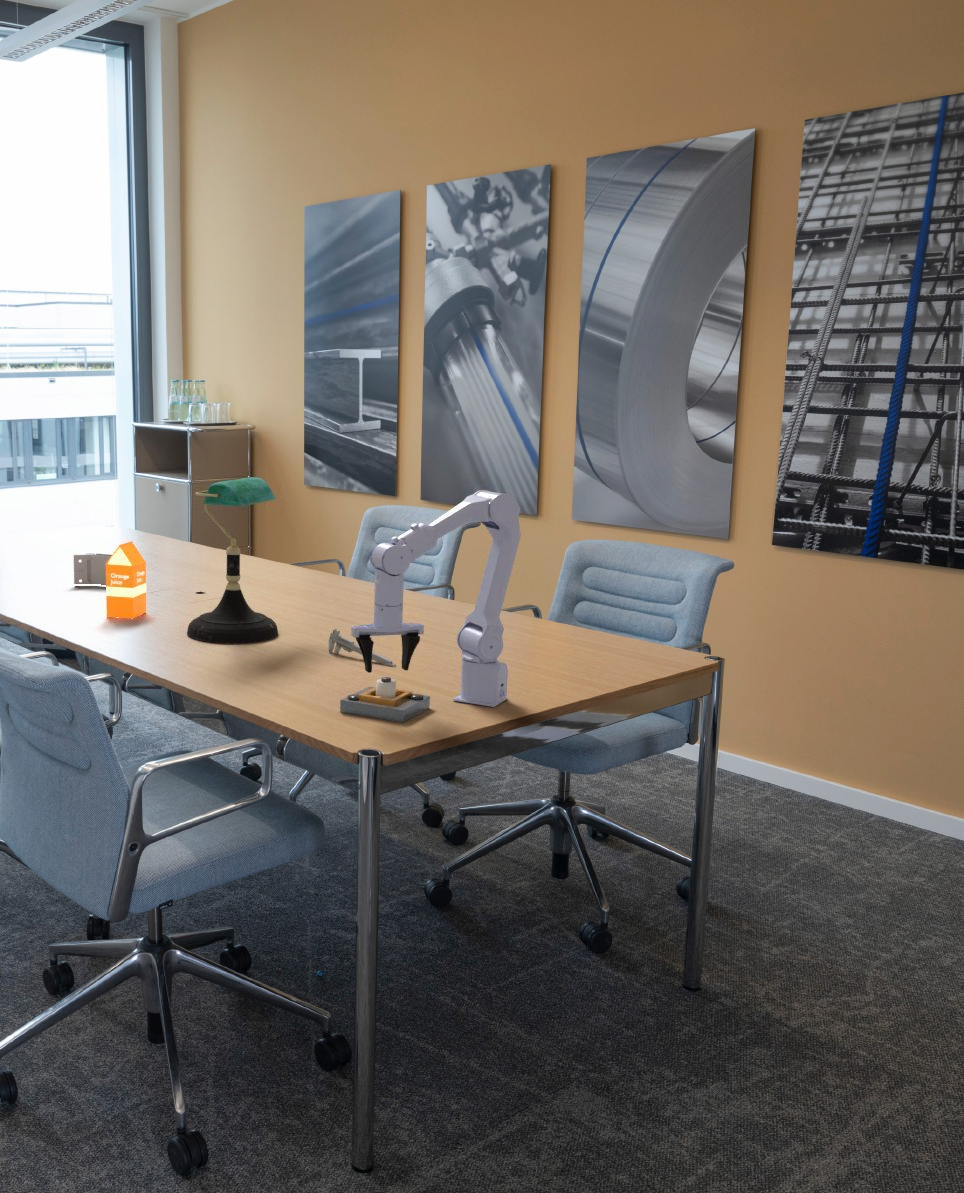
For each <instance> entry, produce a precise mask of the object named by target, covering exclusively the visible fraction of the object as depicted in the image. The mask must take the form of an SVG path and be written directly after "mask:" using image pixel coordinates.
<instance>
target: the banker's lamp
mask: <svg viewBox="0 0 964 1193" xmlns="http://www.w3.org/2000/svg"><path fill="white" fill-rule="evenodd" d="M194 494H195V496H197V497H199V496H200V497H205V498H204V499H203V500H204V501H203V505H204V511H205V512H206V513H207V515H208V516H209V517H210V518H211V520H212V521H213V522H214V523H215V524H216V525H217V526H218V528H220V530H221V531H222V532H223V534H224V535H226V537H227V538H228V539H229V541H230V546H228V547H226V550H225V554H226V575H225V579H226V581H227V582H228V583H226V584H225V585H226V586H225V589H224V592H223V594H222V597H221V599H220V601H219V603H218V604H217V606H216V607H215V608H214V609H213V610H212V611H209V612H205V613H202V614H200V615H199V616H197V617H196V618H193V619H192V620H191V621H190V622H189V624H188V625H187V630H186V635H187V636H188V637H189V638H191V639H193V640H197V641H199V640H200V641H199V642H204V641H205V642H206V643H212V642H214V643H213V644H227V643H229V644H234V643H236V644H251V643H260V642H265V641H267V640H268V641H269V640H272V639H274V638H275V637H276V636H278V635H279V631H278V626H277V623H276V622H275V621H274V620H273V619H272V618H270V617H269V616H267V615H265V614H263V613H261V612H256V611H254V610H253V609H252V608H251V607H250V606H249V604H248V602H247V600H246V598H245V596H244V595H243V591H242V589H241V584H240V583H239V581H240V580H241V571H240V570H241V549H240V547H239V546H237V538H234V537H233V536H232V535H231V534H230V533H229V532H228V531H227V530H226V528H225V527H224V526H223V525H222V524H221V523H220V521H218V519H217V518H216V517H215V516H214V514H212V512H210V510H209V508H208V507H209V506H210V505H213V506H226V507H227V506H228V507H244V506H246V507H247V506H250V505H255V504H260V503H261V504H262V503H264V502H269V501H270V502H271V501H275V500H276V499H277V498H276V495H275V493H274V492H273V490H272V489H271V487H270V486H269V484H268V483H267V482H266V481H265V480H264V479H262V478H260V477H254V476H253V477H251V476H250V477H244V478H237V479H230V480H224V481H217V482H215V483H212V484H211V485H209V487H208V489H207V490H202V491H196V492H195V493H194Z"/></svg>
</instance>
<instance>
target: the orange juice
mask: <svg viewBox="0 0 964 1193" xmlns="http://www.w3.org/2000/svg"><path fill="white" fill-rule="evenodd" d="M111 555H112V556H111V558H110V559H109V561H108V562H107V564H106V588H105V594H106V595H105V596H106V598H105V599H106V602H105V603H106V618H107V617H119V618H118V619H121V618H135V617H137V616H139V615H141V614H143V613H145V612H146V613H147V562H146V560H145V559H144V558H143V556H142V554H141V552H139V550H138V548H137V547H136V545H135V544H134V542H133V541H128V542H125V543H122V544H119V545H118V546H117V548H116V549H115V550H114V552H112V554H111ZM139 617H140V616H139ZM137 618H138V617H137ZM135 619H136V618H135Z"/></svg>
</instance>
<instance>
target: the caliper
mask: <svg viewBox="0 0 964 1193" xmlns="http://www.w3.org/2000/svg"><path fill="white" fill-rule="evenodd" d="M340 632H341V631H340V630H337V628H335V629H333V630H332V632H331V633H330V634H329V639H328V653H329V654H332V653H333V652H334V653H333V655H338V654H339V653H340V651H341V649H343V650H344V651H346V652H348V653H352V652H355V653H357V654H360V655H361V656H363V655H362V652H361V650H360V647H359V645H358V644H355V641H353V640H351V639H350V638H347V637H345V636H343V635H340ZM372 661H375V662H377V663H379V664H381V665H383V666H387V667H391V668H392V667H393V668H394V667H395V668H396V667H397V664H396V663H394V662H393V661H394V660H391V659H389V658H388V657H385V656H383V655H381V654H378V653H376V652H374V651H372Z"/></svg>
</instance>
